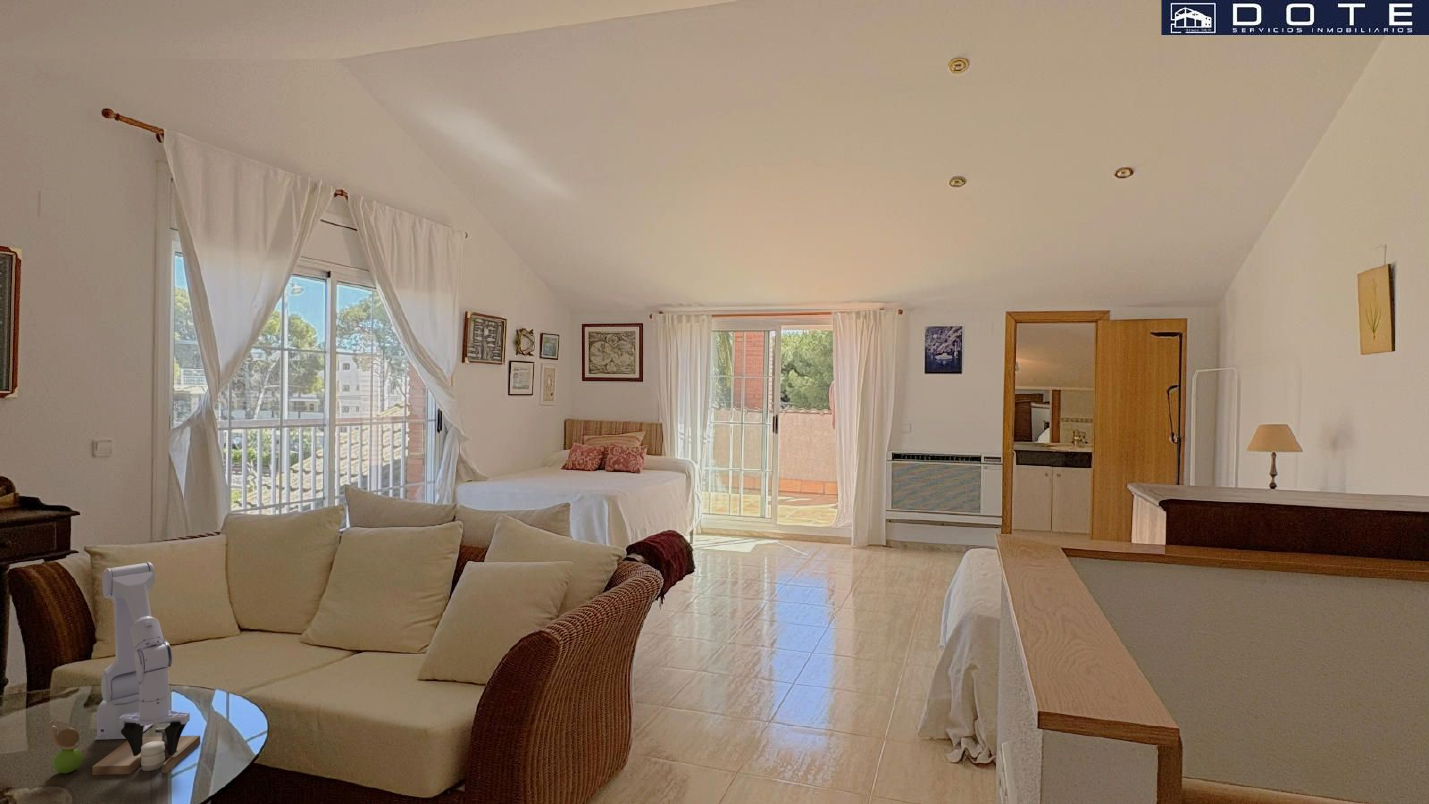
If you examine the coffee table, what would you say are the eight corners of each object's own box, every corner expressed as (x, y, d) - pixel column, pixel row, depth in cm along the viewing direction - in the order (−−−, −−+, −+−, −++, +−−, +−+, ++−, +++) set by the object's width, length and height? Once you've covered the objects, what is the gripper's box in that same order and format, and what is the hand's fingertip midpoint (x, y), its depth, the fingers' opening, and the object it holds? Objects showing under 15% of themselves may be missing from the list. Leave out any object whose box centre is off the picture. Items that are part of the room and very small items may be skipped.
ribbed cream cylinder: (136, 771, 183) (136, 750, 183) (148, 761, 188) (148, 740, 187) (158, 770, 183) (157, 749, 183) (169, 760, 188) (168, 740, 188)
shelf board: (92, 775, 181) (92, 766, 181) (131, 745, 195) (131, 737, 195) (166, 772, 183) (166, 764, 182) (200, 743, 196) (200, 735, 196)
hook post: (154, 750, 189) (154, 730, 189) (159, 746, 191) (158, 726, 190) (174, 749, 189) (173, 729, 189) (178, 745, 191) (178, 726, 191)
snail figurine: (59, 766, 185) (58, 715, 184) (88, 765, 185) (87, 715, 184) (42, 778, 179) (40, 726, 178) (72, 777, 180) (70, 726, 179)
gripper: (109, 705, 180) (110, 763, 181) (177, 703, 181) (178, 761, 182) (129, 692, 187) (130, 748, 188) (194, 690, 188) (195, 746, 189)
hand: (155, 753), depth 185 cm, fingers open, 7 cm apart
